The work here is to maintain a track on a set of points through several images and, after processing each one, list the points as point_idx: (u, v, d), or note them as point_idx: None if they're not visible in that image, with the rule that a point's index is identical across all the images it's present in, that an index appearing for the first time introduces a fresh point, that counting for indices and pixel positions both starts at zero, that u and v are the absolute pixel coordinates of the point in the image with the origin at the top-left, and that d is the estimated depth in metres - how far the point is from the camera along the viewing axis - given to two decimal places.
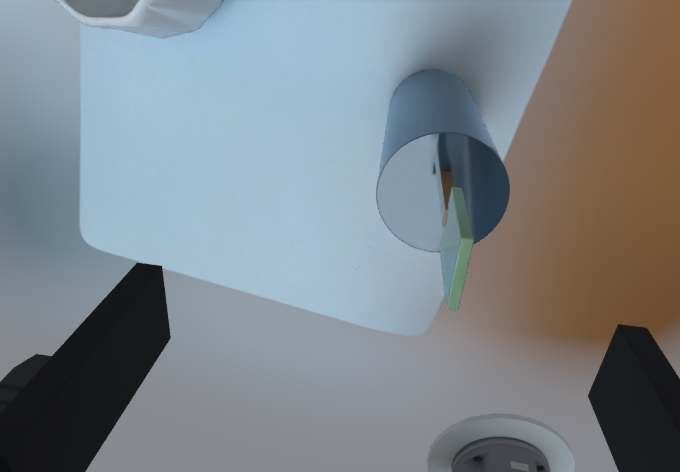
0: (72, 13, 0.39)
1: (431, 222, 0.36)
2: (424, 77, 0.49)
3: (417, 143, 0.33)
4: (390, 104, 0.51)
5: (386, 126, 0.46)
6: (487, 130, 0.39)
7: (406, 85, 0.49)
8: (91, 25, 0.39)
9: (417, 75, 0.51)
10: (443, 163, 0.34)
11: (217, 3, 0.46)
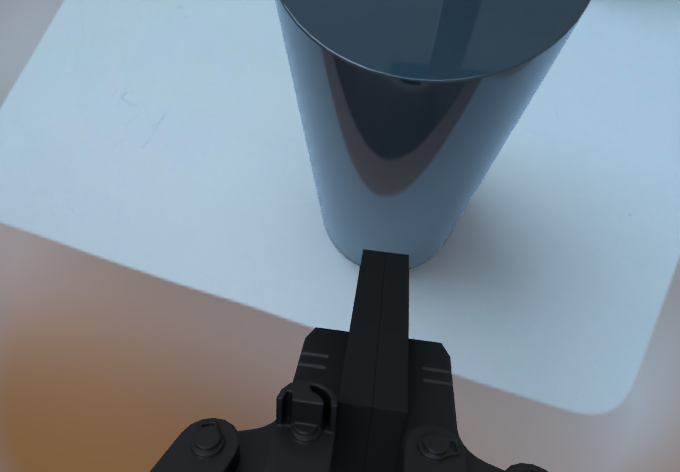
0: None
1: None
2: None
3: None
4: None
5: None
6: (476, 168, 0.19)
7: None
8: None
9: None
10: None
11: None
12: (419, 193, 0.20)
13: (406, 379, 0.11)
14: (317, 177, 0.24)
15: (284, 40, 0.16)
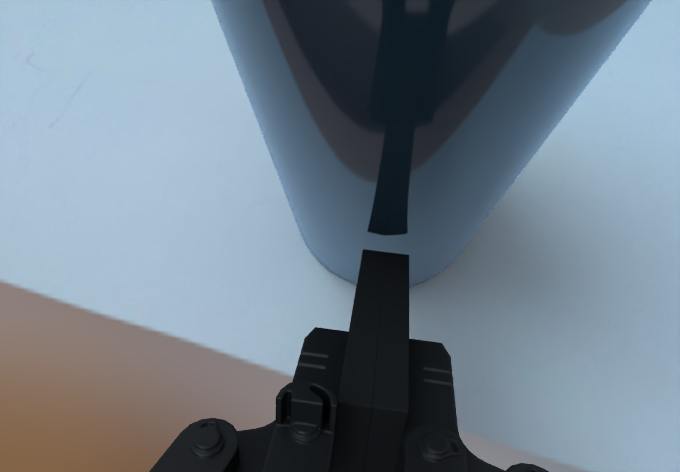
0: None
1: None
2: None
3: None
4: None
5: None
6: (557, 105, 0.10)
7: None
8: None
9: None
10: None
11: None
12: (445, 158, 0.10)
13: (407, 379, 0.11)
14: (268, 146, 0.15)
15: None
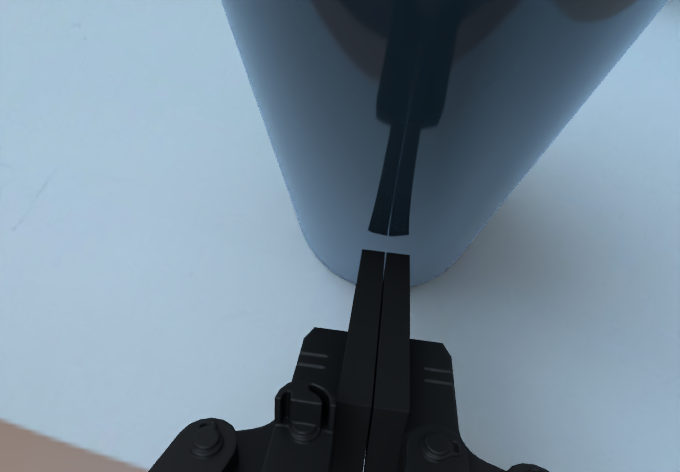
0: None
1: None
2: None
3: None
4: None
5: None
6: (567, 111, 0.10)
7: None
8: None
9: None
10: None
11: None
12: (457, 164, 0.10)
13: (407, 379, 0.11)
14: (276, 151, 0.15)
15: None
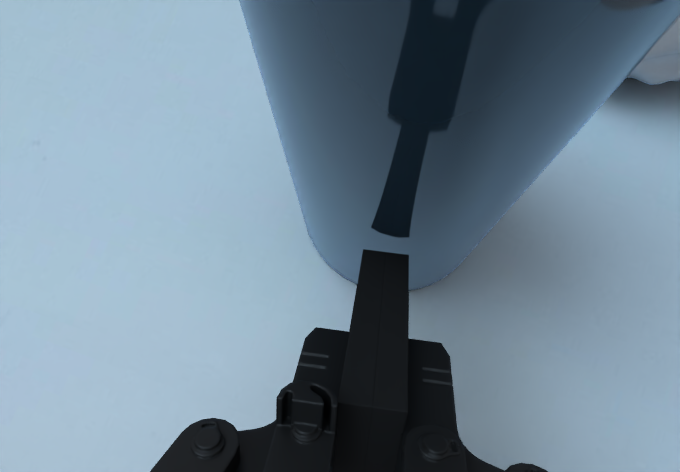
0: None
1: None
2: None
3: None
4: None
5: None
6: (576, 123, 0.10)
7: None
8: None
9: None
10: None
11: None
12: (466, 172, 0.11)
13: (406, 379, 0.11)
14: (287, 152, 0.15)
15: None
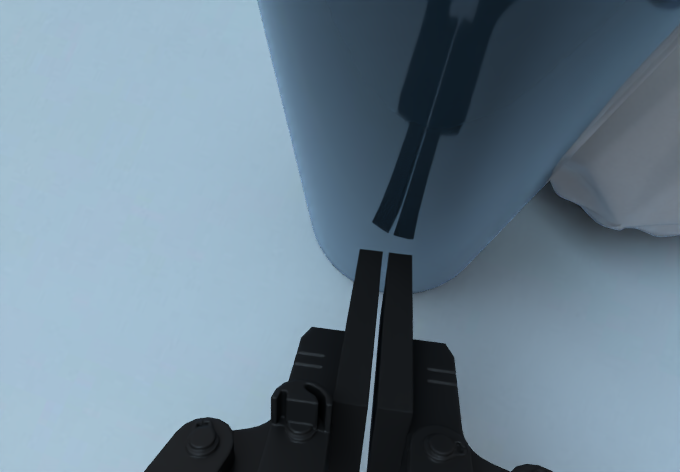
0: None
1: None
2: None
3: None
4: None
5: None
6: (589, 130, 0.10)
7: None
8: None
9: None
10: None
11: (608, 187, 0.20)
12: (479, 176, 0.11)
13: (411, 380, 0.11)
14: (298, 154, 0.15)
15: None
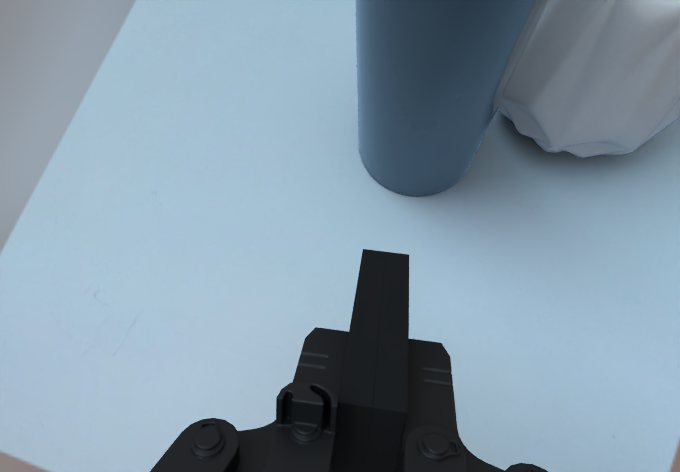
0: None
1: None
2: None
3: None
4: None
5: None
6: (500, 67, 0.24)
7: None
8: None
9: None
10: None
11: (543, 120, 0.34)
12: (454, 89, 0.25)
13: (406, 379, 0.11)
14: (365, 91, 0.29)
15: None
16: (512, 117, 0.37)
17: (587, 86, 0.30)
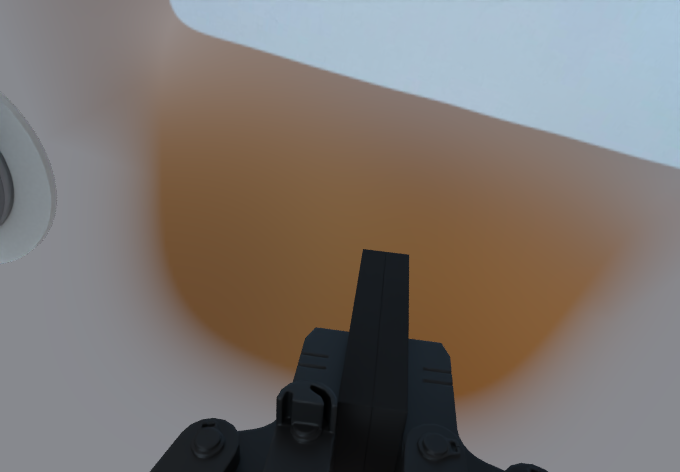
0: None
1: None
2: None
3: None
4: None
5: None
6: None
7: None
8: None
9: None
10: None
11: None
12: None
13: (406, 379, 0.11)
14: None
15: None
16: None
17: None
